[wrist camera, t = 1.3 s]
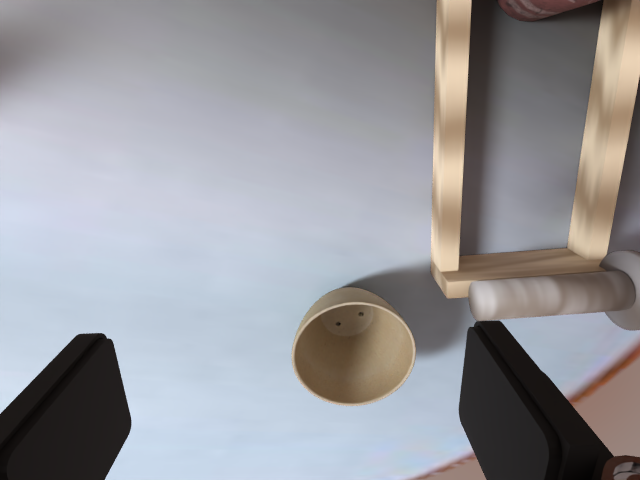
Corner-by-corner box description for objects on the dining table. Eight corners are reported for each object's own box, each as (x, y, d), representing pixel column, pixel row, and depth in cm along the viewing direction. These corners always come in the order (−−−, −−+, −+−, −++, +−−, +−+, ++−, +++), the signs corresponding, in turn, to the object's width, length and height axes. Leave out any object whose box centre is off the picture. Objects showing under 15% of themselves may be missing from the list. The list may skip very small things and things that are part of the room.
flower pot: (279, 335, 40) (273, 385, 33) (319, 248, 37) (321, 283, 30) (370, 367, 41) (382, 421, 35) (416, 286, 38) (438, 328, 32)
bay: (438, -51, 29) (498, -119, 20) (661, -69, 29) (828, -146, 20) (430, 294, 39) (467, 359, 29) (597, 281, 38) (689, 343, 29)
